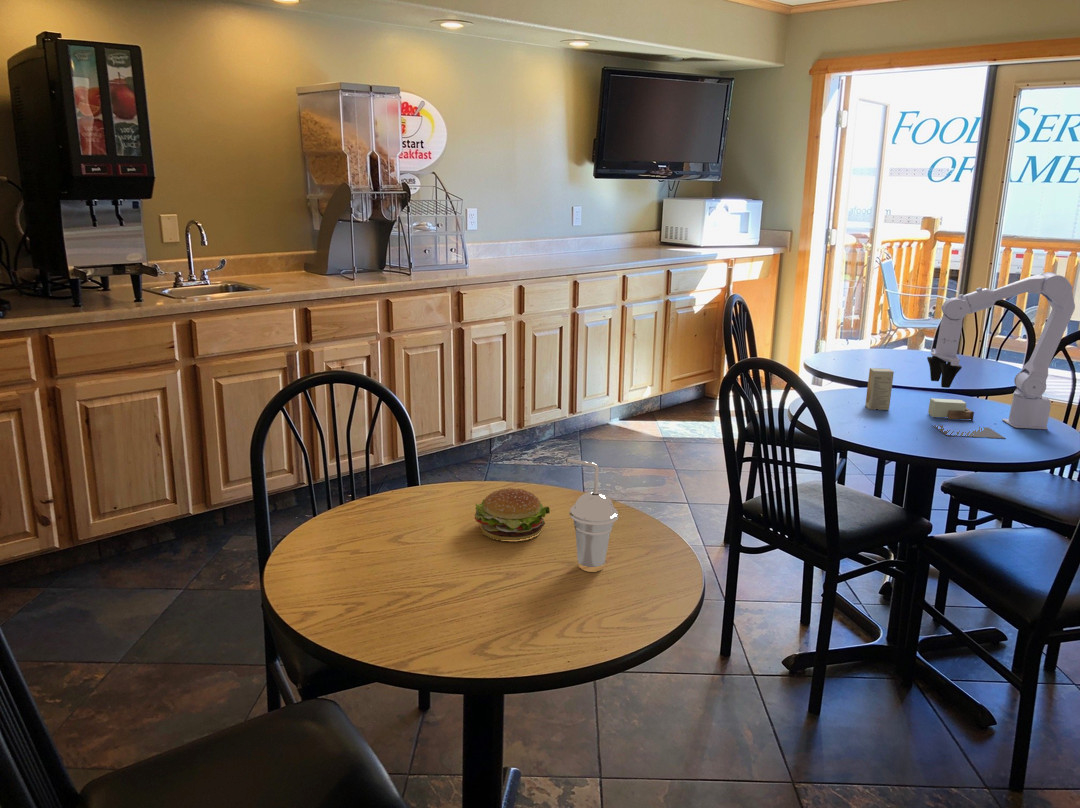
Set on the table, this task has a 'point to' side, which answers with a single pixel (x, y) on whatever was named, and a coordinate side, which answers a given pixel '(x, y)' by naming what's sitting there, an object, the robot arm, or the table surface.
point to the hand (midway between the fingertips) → (939, 384)
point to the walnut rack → (961, 414)
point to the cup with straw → (592, 522)
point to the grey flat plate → (976, 433)
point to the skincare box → (879, 388)
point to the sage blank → (945, 406)
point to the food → (511, 514)
